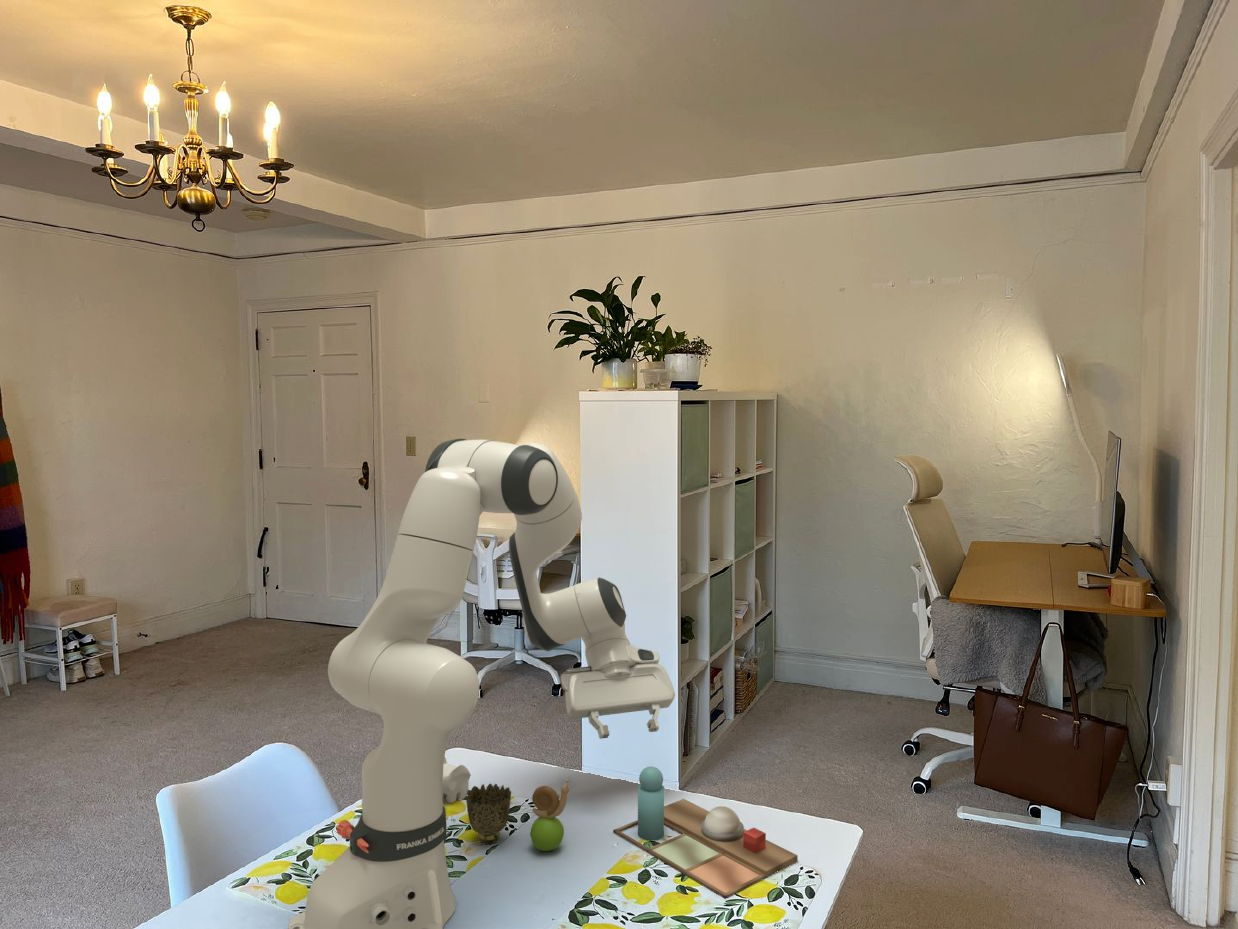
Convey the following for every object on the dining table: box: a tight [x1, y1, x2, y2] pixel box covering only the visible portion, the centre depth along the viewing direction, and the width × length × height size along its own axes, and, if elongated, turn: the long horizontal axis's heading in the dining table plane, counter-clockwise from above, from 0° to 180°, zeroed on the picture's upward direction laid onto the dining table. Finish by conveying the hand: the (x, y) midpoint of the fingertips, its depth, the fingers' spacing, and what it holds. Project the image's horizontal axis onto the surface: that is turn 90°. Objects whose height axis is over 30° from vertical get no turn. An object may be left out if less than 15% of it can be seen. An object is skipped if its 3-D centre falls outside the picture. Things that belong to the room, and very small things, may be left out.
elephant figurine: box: [443, 757, 472, 804], centre depth 158 cm, size 8×10×7 cm
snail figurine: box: [529, 777, 570, 852], centre depth 140 cm, size 5×6×12 cm
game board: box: [612, 798, 799, 899], centre depth 141 cm, size 16×26×6 cm, turn 40°
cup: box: [465, 783, 512, 844], centre depth 143 cm, size 8×7×8 cm
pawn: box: [637, 765, 665, 841], centre depth 145 cm, size 4×4×12 cm
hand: (629, 733), depth 154 cm, fingers open, 8 cm apart
